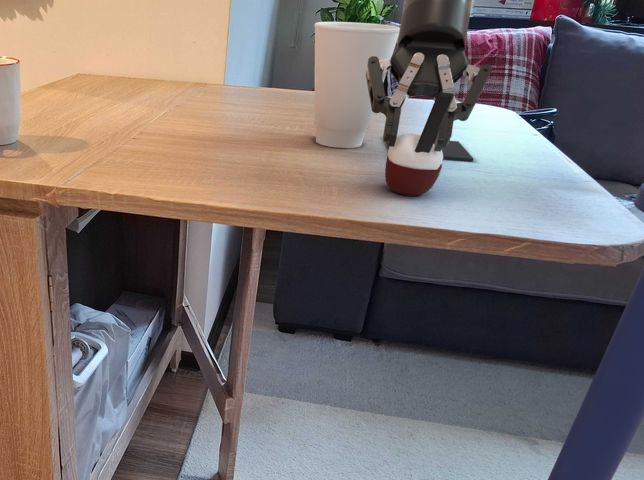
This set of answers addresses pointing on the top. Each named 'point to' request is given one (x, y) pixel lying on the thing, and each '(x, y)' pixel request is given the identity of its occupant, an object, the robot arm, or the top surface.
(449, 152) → the coaster
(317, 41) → the cup
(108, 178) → the top surface
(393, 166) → the cocoa
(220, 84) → the top surface
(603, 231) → the top surface
